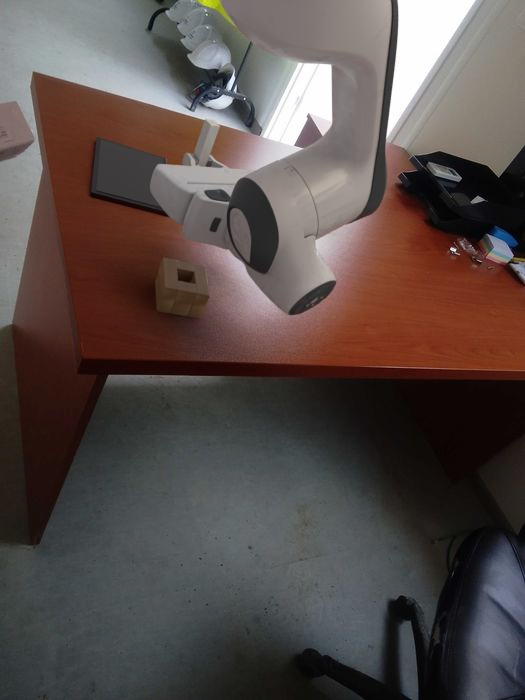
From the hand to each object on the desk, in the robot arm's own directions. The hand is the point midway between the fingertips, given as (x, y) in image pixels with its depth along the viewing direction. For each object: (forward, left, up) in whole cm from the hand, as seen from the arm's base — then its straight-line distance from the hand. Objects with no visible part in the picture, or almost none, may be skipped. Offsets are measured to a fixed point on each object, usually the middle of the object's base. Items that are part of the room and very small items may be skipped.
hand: (195, 158), depth 67 cm
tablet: (-6, +20, -17) cm, 27 cm away
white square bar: (0, -1, -9) cm, 9 cm away
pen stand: (+1, -12, -17) cm, 21 cm away
